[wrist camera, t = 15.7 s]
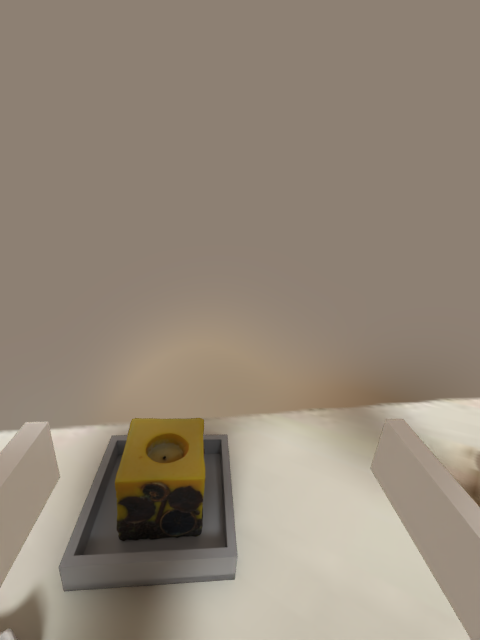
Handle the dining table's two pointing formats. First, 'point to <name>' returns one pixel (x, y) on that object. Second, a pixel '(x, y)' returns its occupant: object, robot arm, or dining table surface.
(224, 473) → the tray
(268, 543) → the dining table surface
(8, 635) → the dish
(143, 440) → the candle
